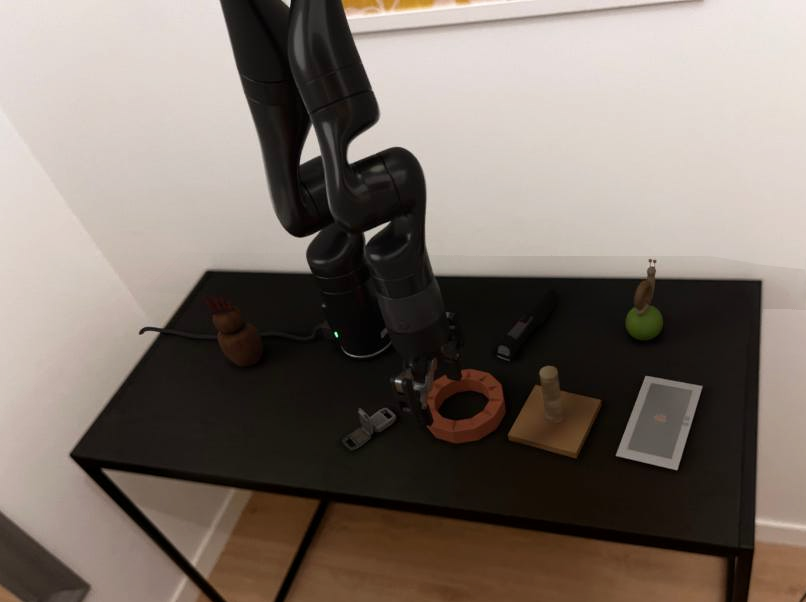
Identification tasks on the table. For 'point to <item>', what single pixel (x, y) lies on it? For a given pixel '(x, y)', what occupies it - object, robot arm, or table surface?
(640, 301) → the snail figurine
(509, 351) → the electric trimmer
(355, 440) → the strap clip
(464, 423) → the ring
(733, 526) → the table surface
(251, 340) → the wooden figurine
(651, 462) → the touchpad
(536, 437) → the stand
